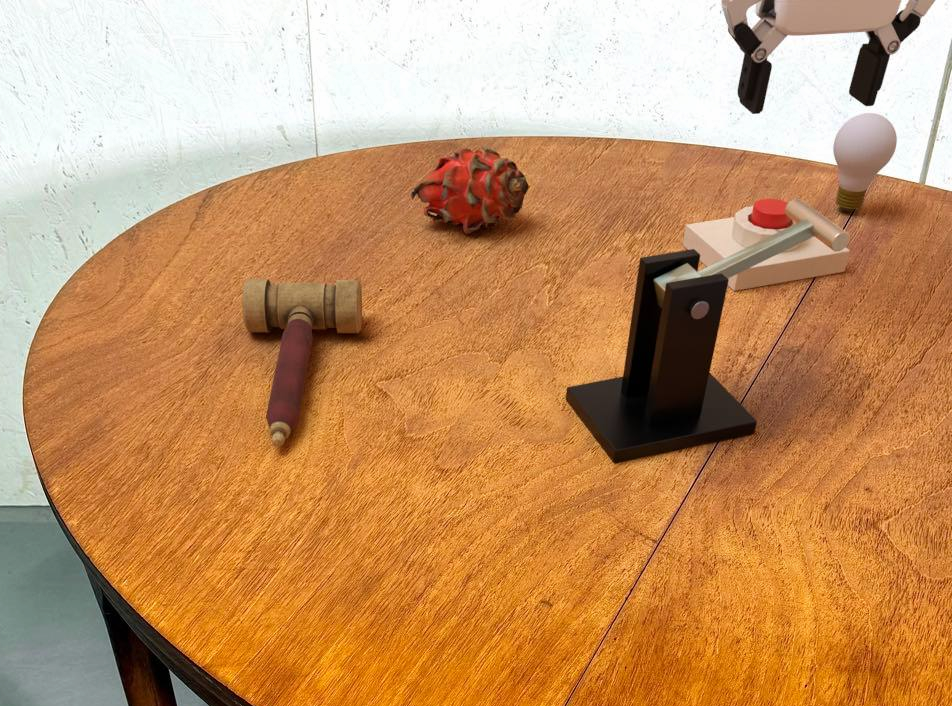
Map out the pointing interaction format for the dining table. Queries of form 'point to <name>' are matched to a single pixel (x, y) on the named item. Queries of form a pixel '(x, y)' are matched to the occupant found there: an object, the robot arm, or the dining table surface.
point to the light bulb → (861, 156)
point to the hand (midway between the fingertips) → (805, 104)
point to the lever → (765, 247)
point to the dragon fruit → (473, 189)
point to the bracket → (665, 371)
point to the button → (770, 214)
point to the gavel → (297, 335)
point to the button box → (788, 265)
